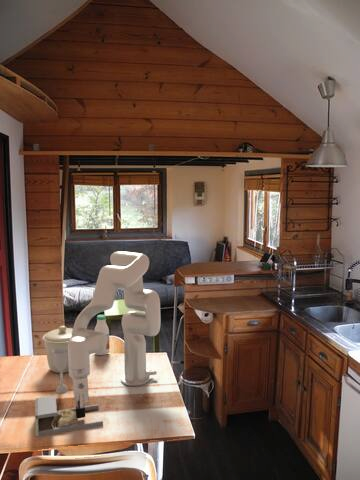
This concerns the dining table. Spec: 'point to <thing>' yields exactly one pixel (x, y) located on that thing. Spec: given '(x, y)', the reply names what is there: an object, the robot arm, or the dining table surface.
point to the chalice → (60, 365)
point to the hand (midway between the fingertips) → (80, 416)
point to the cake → (65, 418)
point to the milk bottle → (104, 329)
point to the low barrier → (49, 408)
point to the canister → (56, 345)
